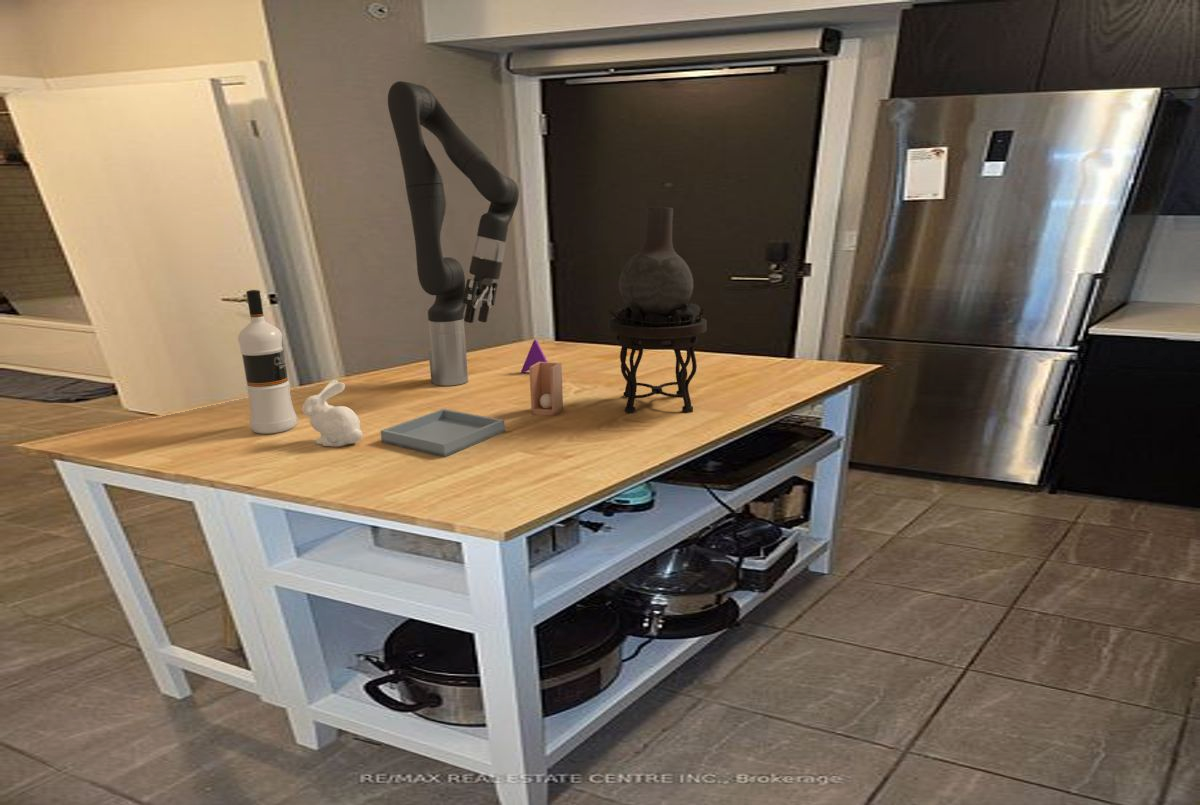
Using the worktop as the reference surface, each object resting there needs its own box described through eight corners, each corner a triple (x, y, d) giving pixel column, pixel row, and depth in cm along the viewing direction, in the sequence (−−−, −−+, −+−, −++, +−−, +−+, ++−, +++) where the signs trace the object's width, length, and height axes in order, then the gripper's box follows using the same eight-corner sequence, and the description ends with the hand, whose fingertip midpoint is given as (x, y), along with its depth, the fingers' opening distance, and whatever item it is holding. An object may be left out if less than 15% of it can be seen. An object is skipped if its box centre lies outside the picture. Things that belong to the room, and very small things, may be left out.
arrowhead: (537, 386, 195) (560, 363, 192) (536, 388, 193) (560, 364, 191) (512, 363, 194) (535, 338, 191) (511, 364, 192) (534, 339, 190)
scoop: (531, 414, 153) (529, 367, 150) (540, 407, 159) (538, 361, 156) (554, 415, 152) (552, 368, 149) (563, 408, 157) (561, 362, 154)
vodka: (251, 425, 149) (228, 289, 141) (297, 419, 153) (277, 286, 144) (251, 437, 141) (226, 293, 133) (299, 431, 145) (278, 290, 136)
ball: (537, 409, 155) (536, 394, 154) (545, 405, 157) (545, 391, 156) (549, 411, 153) (548, 396, 152) (557, 407, 156) (557, 393, 155)
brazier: (598, 413, 153) (594, 207, 140) (622, 389, 173) (620, 207, 161) (697, 420, 147) (702, 205, 134) (709, 393, 168) (714, 205, 155)
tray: (381, 442, 136) (380, 430, 136) (444, 419, 151) (443, 408, 150) (445, 457, 127) (444, 444, 127) (505, 431, 142) (504, 420, 141)
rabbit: (302, 444, 136) (293, 387, 133) (335, 430, 144) (328, 376, 141) (349, 451, 132) (341, 392, 128) (381, 436, 140) (374, 380, 137)
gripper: (484, 256, 173) (473, 318, 176) (461, 252, 160) (449, 319, 163) (511, 262, 172) (499, 324, 175) (490, 258, 158) (477, 326, 161)
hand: (475, 322), depth 169 cm, fingers open, 8 cm apart
